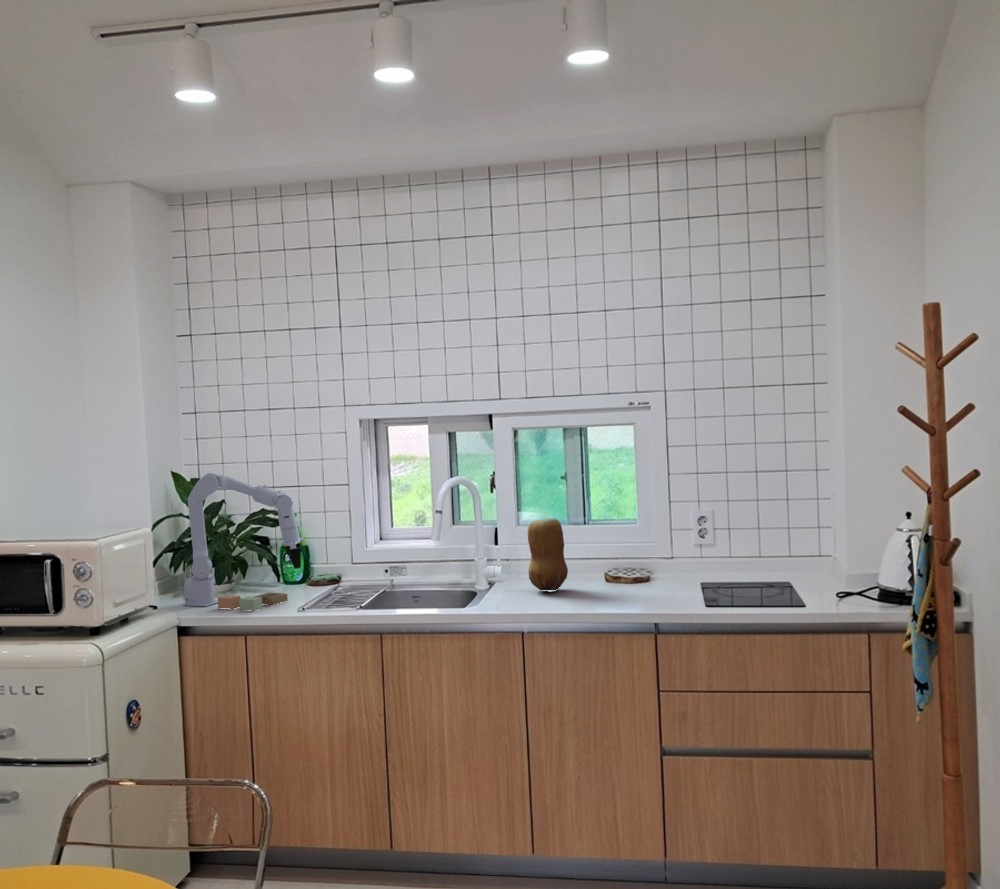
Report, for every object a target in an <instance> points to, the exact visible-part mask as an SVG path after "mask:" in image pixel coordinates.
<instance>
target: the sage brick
mask: <svg viewBox="0 0 1000 889" xmlns="http://www.w3.org/2000/svg"><path fill="white" fill-rule="evenodd" d="M240 598H241V597H240ZM239 605H240V608H239V611H240V610H251V611H255V610H258V609H262V608H263V605H262V598H259V597H254V596H245V597H243V598H241V599H239Z"/></svg>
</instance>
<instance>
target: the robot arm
mask: <svg viewBox="0 0 1000 889" xmlns="http://www.w3.org/2000/svg"><path fill="white" fill-rule="evenodd" d="M218 489H219V490H220V491H225V490H231V491H236V492H238V493H240V494H244V495H247V496H251V497H252V499H253V501H254V502H257V503H259V504H261V505H264V506H267V507H271V508H273V507H275V509H276V511H277V514H278V516H277V520H278V523H279V528H280V529H279V530H280V532H281V533H280V534H281V537H282V545H283V546H284V549H285V550H284V552H285V554H286V555H287V556H288V557H289V559H290V561H291V562H290V563H292V567H293V568H294V570H296V569H300V568H302V567H301V565H302V563H301V562H302V561H301V560H302V559H301V555H302V554H301V552H302V549H303V547H302V546H301V545H302V543H301V541H304V537H300V532H299V529H298V528H299V527H298V524H297V518H296V514H295V513H294V508H293V503H294V501H293V500H292V498H291V496H290V495H289V494H287V493H286V492H282V490H278V491H277V490H275V489H272V488H269V487H268V485H265V484H264V485H258V486H256V487H255V486H252V485H249V484H247V483H245V482H242V481H239V480H236V479H234V478H232V477H228V476H224V475H220V474H218V475H217V474H216V473H212V472H211V473H210V472H209V473H206V474H204V475H203V476H202V477H201V478H200V479H199V480H198V481H197V482H196V483H195V485H194V486H193V488H192V490H191V491H190V493H189V495H188V496H187V506H188V507H187V508H188V514H189V515H188V516H189V525H190V526H189V527H190V534H191V544H192V545H191V546H192V564H191V568H190V571H191V574H192V575H191V577H188V578H187V579H186V580H185V583H184V586H183V592H184V603H182V604H183V606H190V607H191V606H192V607H202V606H203V607H204V606H205V607H208V606H212V605H215V603H216V604H218V600H215V586H214V585H215V584H214V575H213V574H212V573H211V572H212V568H213V562H212V560H211V558H210V556H209V550H208V546H207V535H206V525H205V514H204V507H203V506H204V504H203V502H204V501H205V500H207V498H209V496H210V495H212V494H213V493H215V492H217V490H218Z"/></svg>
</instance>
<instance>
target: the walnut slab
mask: <svg viewBox="0 0 1000 889" xmlns="http://www.w3.org/2000/svg"><path fill="white" fill-rule="evenodd" d="M253 597H259V598H262V604H267V605H274V604H277V603H280V602H284V601H287V600H288V593H284V592H282V593H281V592H280V593H279V592H270V591H269V592H265V593H262V594H258V595H255V596H253ZM287 602H288V601H287ZM284 603H285V602H284ZM274 606H275V605H274Z"/></svg>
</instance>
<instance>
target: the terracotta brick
mask: <svg viewBox="0 0 1000 889" xmlns="http://www.w3.org/2000/svg"><path fill="white" fill-rule="evenodd" d="M239 599H241V596H240V595H230V594H229V595H227V594H226V595H222V596H220V597H217V601H218V603H217V609H218V608H230V609H234V608H237V607H240V605H239Z"/></svg>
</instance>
